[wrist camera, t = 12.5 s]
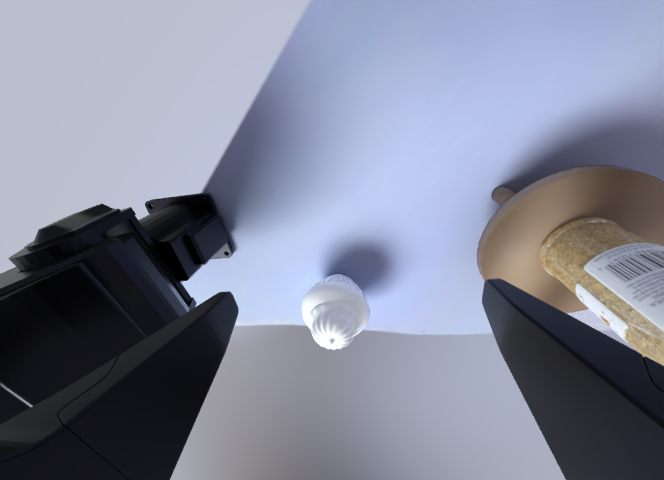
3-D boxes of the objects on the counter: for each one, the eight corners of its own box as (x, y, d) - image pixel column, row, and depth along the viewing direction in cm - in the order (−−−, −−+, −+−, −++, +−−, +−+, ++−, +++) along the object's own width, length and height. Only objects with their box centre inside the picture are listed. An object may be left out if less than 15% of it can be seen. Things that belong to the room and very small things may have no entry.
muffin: (343, 250, 23) (335, 302, 17) (381, 292, 25) (387, 352, 19) (296, 280, 26) (275, 336, 19) (334, 317, 27) (326, 378, 21)
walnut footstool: (459, 284, 24) (475, 316, 20) (470, 167, 18) (495, 182, 15) (594, 278, 22) (638, 312, 18) (649, 145, 17) (724, 156, 13)
